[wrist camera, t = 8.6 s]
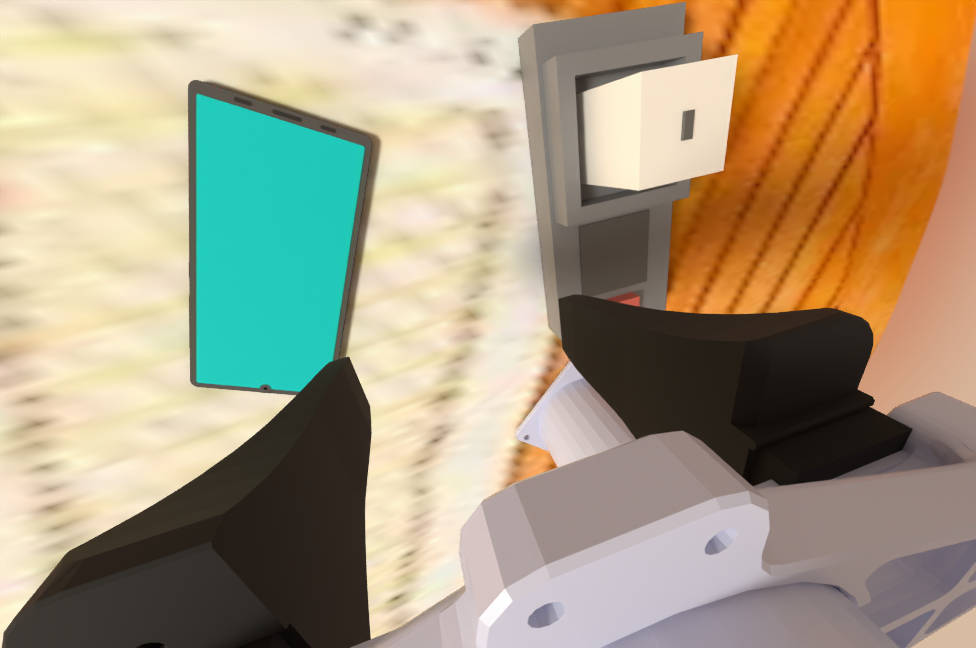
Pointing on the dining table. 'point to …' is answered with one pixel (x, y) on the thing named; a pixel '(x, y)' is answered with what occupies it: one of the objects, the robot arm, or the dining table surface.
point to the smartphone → (268, 240)
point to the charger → (656, 125)
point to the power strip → (555, 157)
